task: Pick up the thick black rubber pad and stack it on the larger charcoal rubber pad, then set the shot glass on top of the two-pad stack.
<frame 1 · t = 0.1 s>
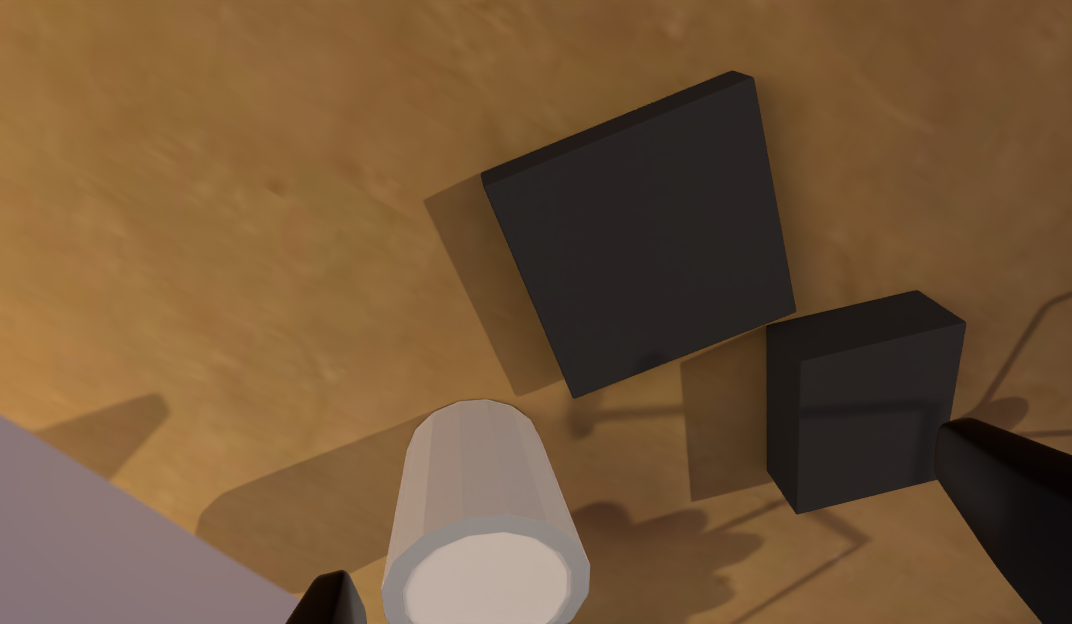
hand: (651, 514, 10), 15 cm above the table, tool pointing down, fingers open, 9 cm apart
black pad: (837, 385, 28), on the table
base pad: (641, 238, 24), on the table
shot glass: (474, 451, 27), on the table
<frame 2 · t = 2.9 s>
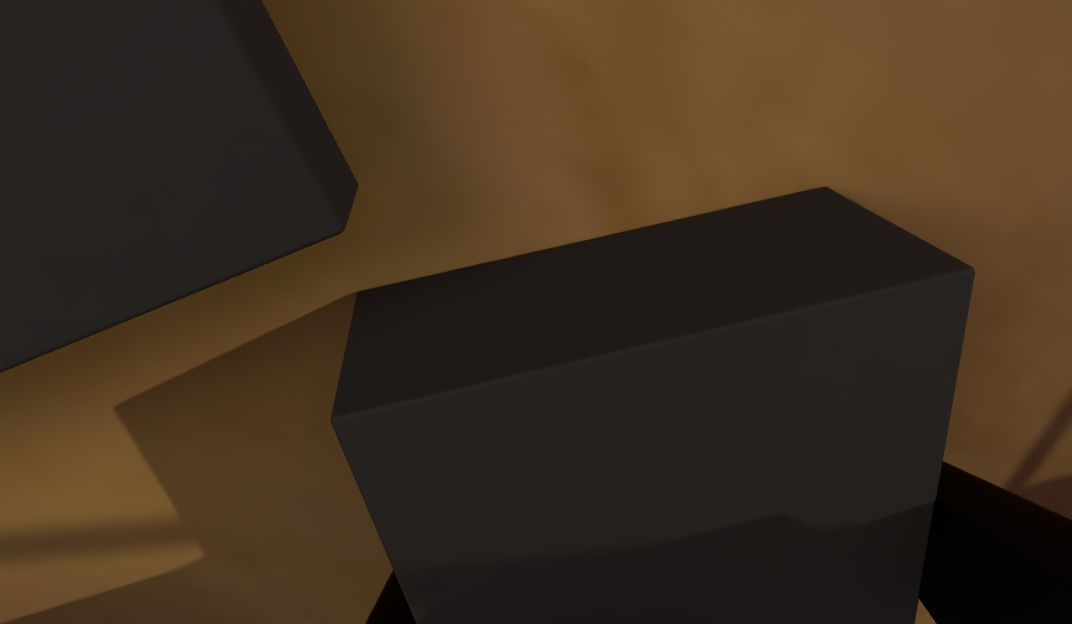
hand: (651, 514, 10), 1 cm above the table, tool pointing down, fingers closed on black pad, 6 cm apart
black pad: (626, 459, 11), on the table, touching gripper
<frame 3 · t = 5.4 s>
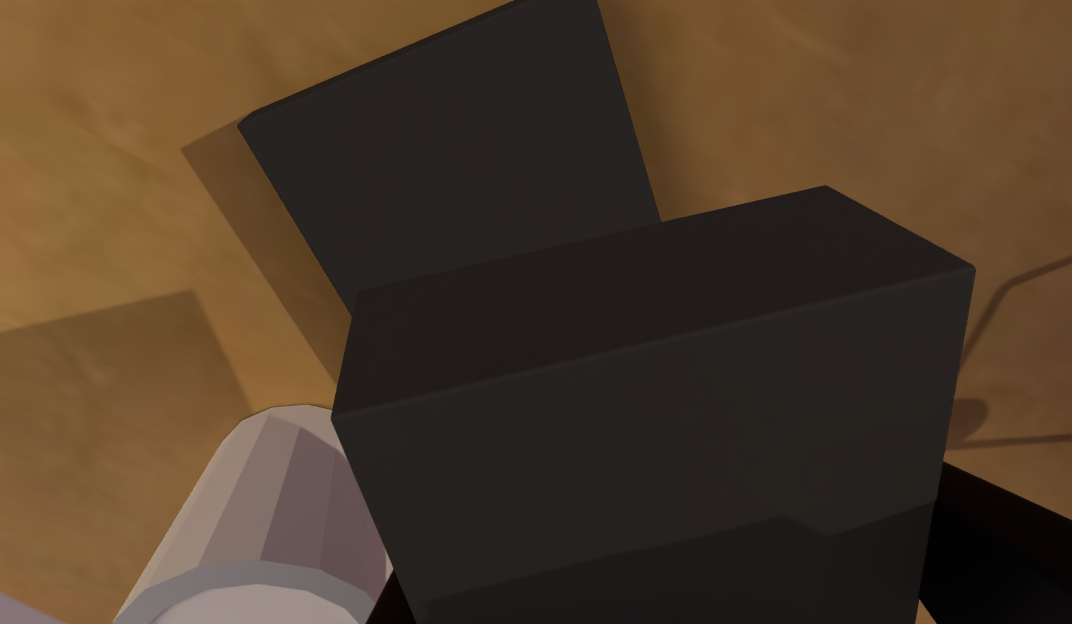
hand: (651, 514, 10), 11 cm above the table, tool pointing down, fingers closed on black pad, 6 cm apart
black pad: (627, 458, 11), point 10 cm above the table, touching gripper
base pad: (480, 200, 19), on the table
shot glass: (304, 467, 22), on the table
when the fingers open (3 cm above the table, at t = 8.0 s): black pad stays where it is, resting on base pad.
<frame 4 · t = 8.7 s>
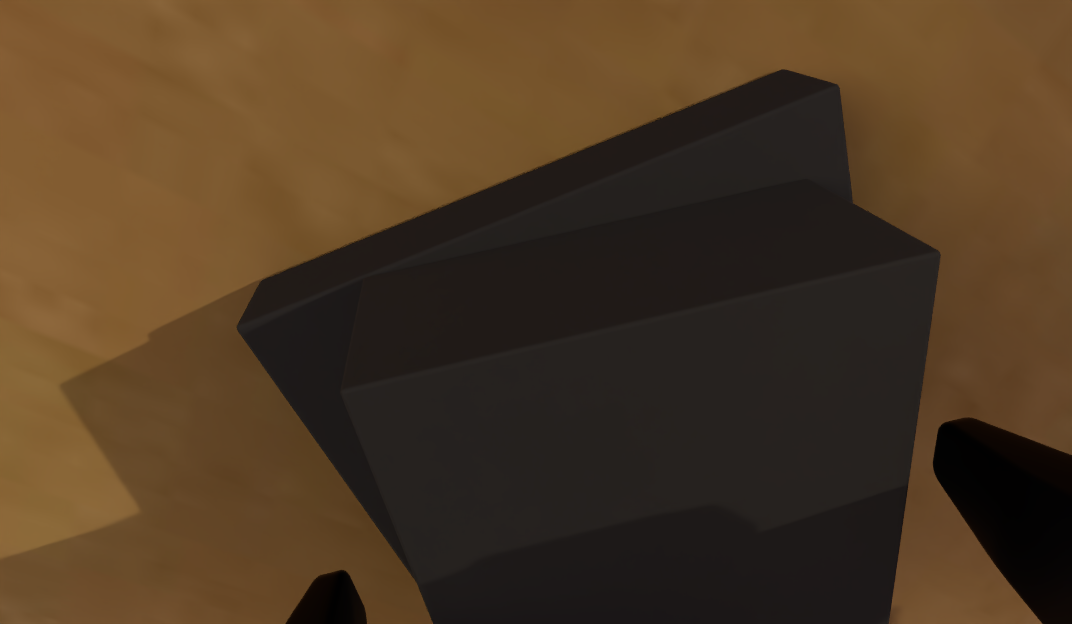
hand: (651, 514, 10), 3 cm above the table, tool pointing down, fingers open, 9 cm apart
black pad: (620, 441, 11), point 2 cm above the table, touching base pad
base pad: (599, 387, 13), on the table, touching black pad
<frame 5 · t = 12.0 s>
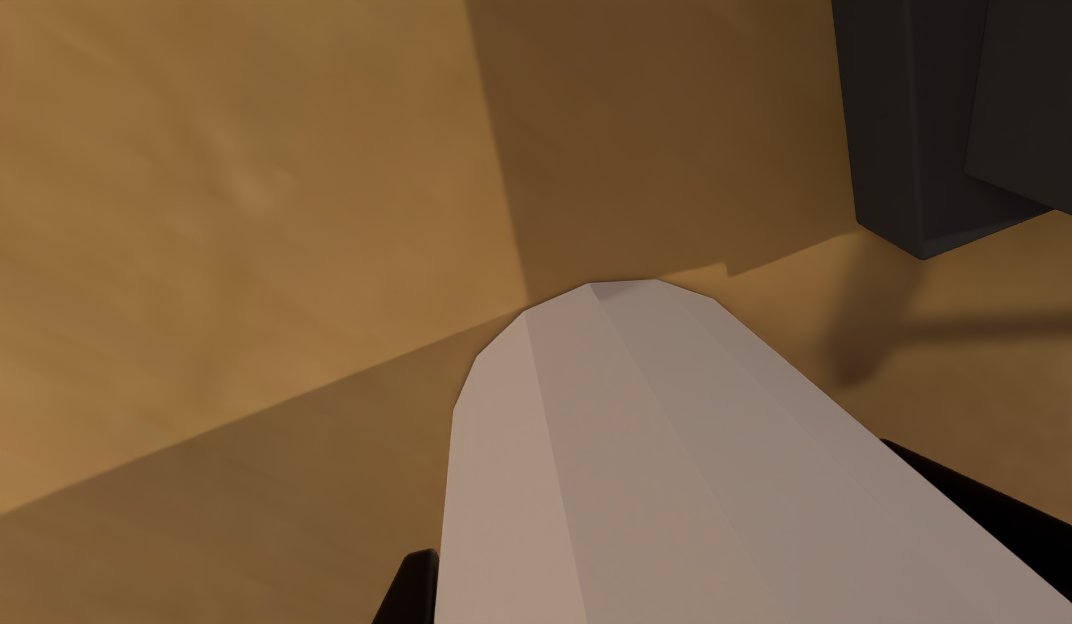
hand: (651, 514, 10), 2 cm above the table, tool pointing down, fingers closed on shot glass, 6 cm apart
shot glass: (608, 415, 12), on the table, touching gripper
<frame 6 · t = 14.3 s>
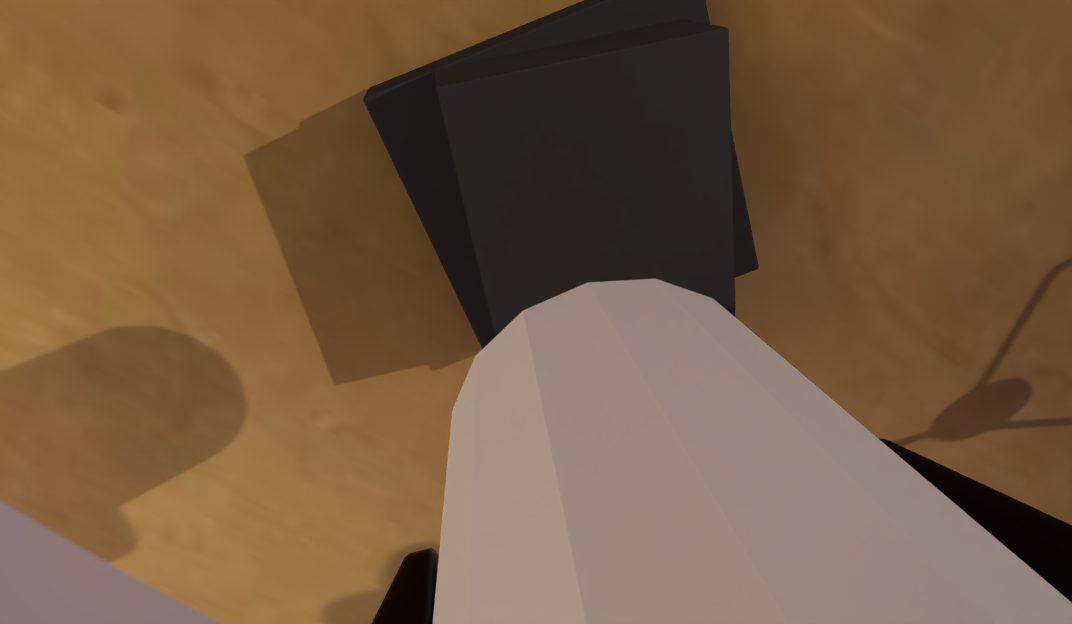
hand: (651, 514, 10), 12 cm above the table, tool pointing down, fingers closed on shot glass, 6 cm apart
black pad: (582, 193, 18), point 2 cm above the table, touching base pad
base pad: (571, 177, 20), on the table, touching black pad
shot glass: (608, 415, 12), point 10 cm above the table, touching gripper
when the fingers open (7 cm above the table, at t = 16.6 s): shot glass stays where it is, resting on black pad.
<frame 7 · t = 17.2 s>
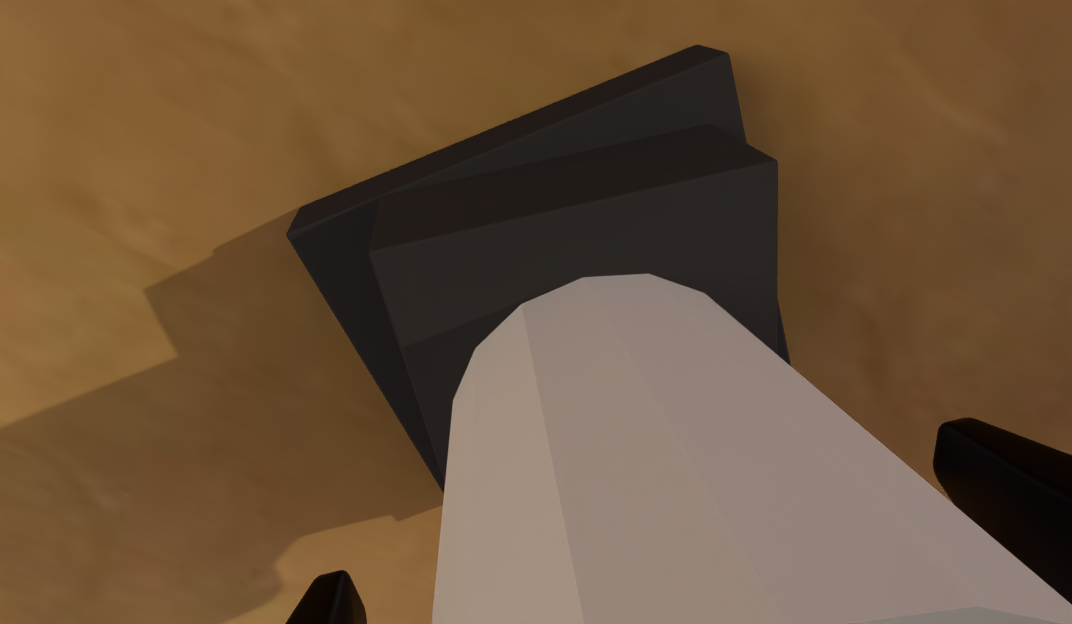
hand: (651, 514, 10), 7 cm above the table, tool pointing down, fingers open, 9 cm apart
black pad: (577, 334, 14), point 2 cm above the table, touching base pad, shot glass
base pad: (564, 301, 16), on the table, touching black pad
shot glass: (603, 406, 12), point 4 cm above the table, touching black pad
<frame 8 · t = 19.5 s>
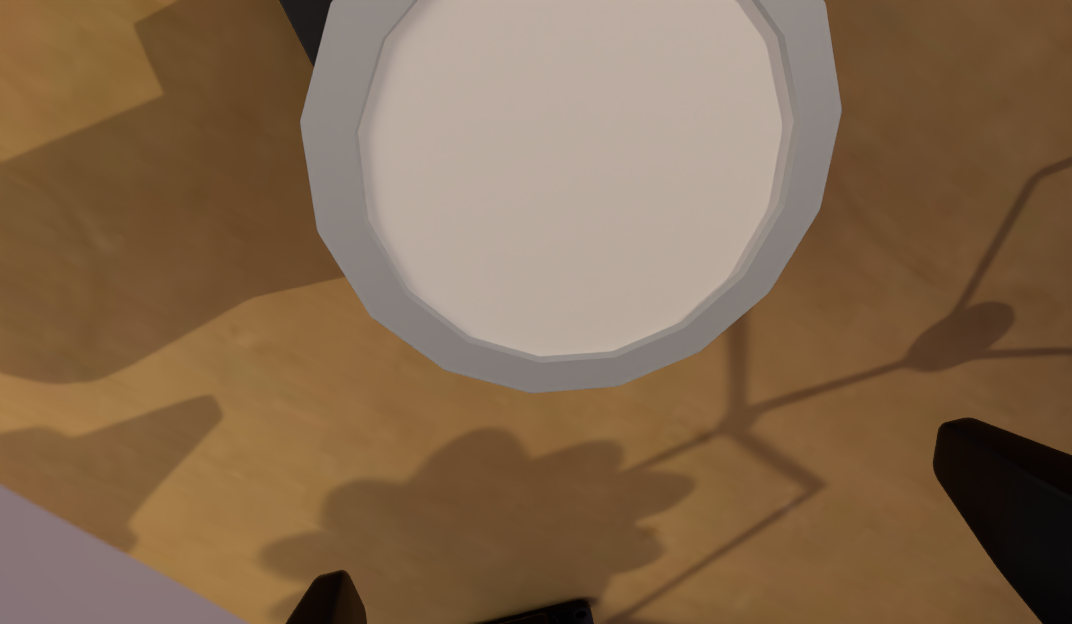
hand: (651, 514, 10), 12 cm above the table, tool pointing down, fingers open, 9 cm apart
base pad: (500, 58, 18), on the table, touching black pad
shot glass: (517, 83, 14), point 4 cm above the table, touching black pad
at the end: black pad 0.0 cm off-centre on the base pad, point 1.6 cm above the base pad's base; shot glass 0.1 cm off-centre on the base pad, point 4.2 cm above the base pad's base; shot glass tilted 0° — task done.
